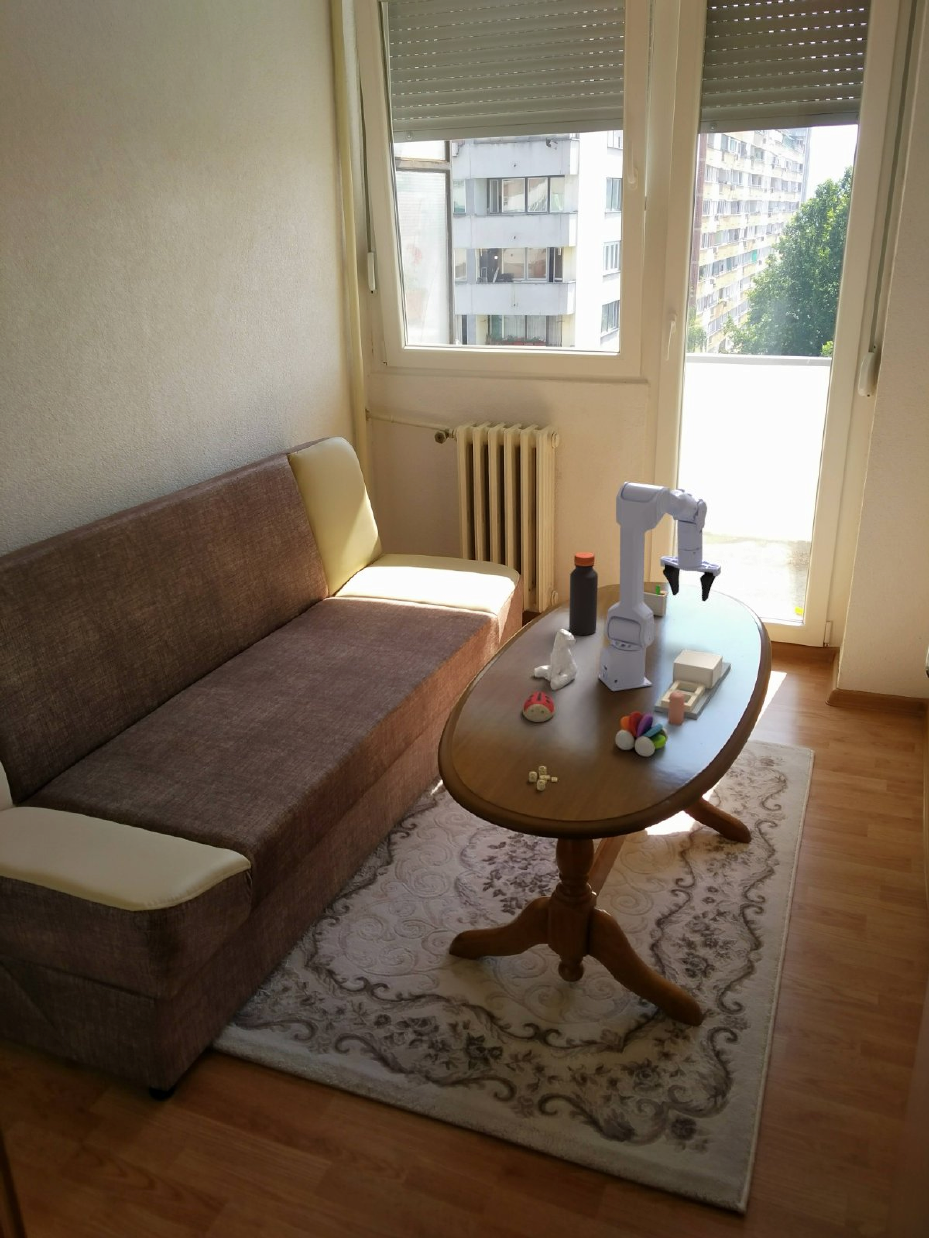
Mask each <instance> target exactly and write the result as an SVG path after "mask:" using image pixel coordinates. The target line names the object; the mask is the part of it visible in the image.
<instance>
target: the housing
mask: <svg viewBox="0 0 929 1238" xmlns="http://www.w3.org/2000/svg"><path fill="white" fill-rule="evenodd" d="M722 662H723V655H720V654H713V653H709V652H703V651H697V650H691V649H683V650H682V652H681V653H680V654H679V655H678V656H677V657H676V659H675V660H674V661H673V666H672V680H671V681H672V682H675V681H676V680H681V681H687V682H692V683H698V684H703V685H705V688H709V689H712V688H713V686H714V685H715V683H716V682H717V680H718V679H719V677H720V676H721V670H722ZM672 682H671V683H672Z"/></svg>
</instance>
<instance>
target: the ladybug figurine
mask: <svg viewBox="0 0 929 1238" xmlns="http://www.w3.org/2000/svg"><path fill="white" fill-rule="evenodd" d="M555 711H556V707H555V704H554V702H553V700H552V699H551V697H550V696H549V695H548V694H546V693H545V692H541V691H539V692H534V693H532V694H531V695H530V696H529V697H528V698H527V699H526V700H525V701H524V704H523V707H522V713H523V714H522V715H523V716H524V718H526V719H527V720H528V721H531V722H534V723H544V722H546V721H548V720H549V719H551V718H552V717H553V716H554V714H555Z"/></svg>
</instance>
